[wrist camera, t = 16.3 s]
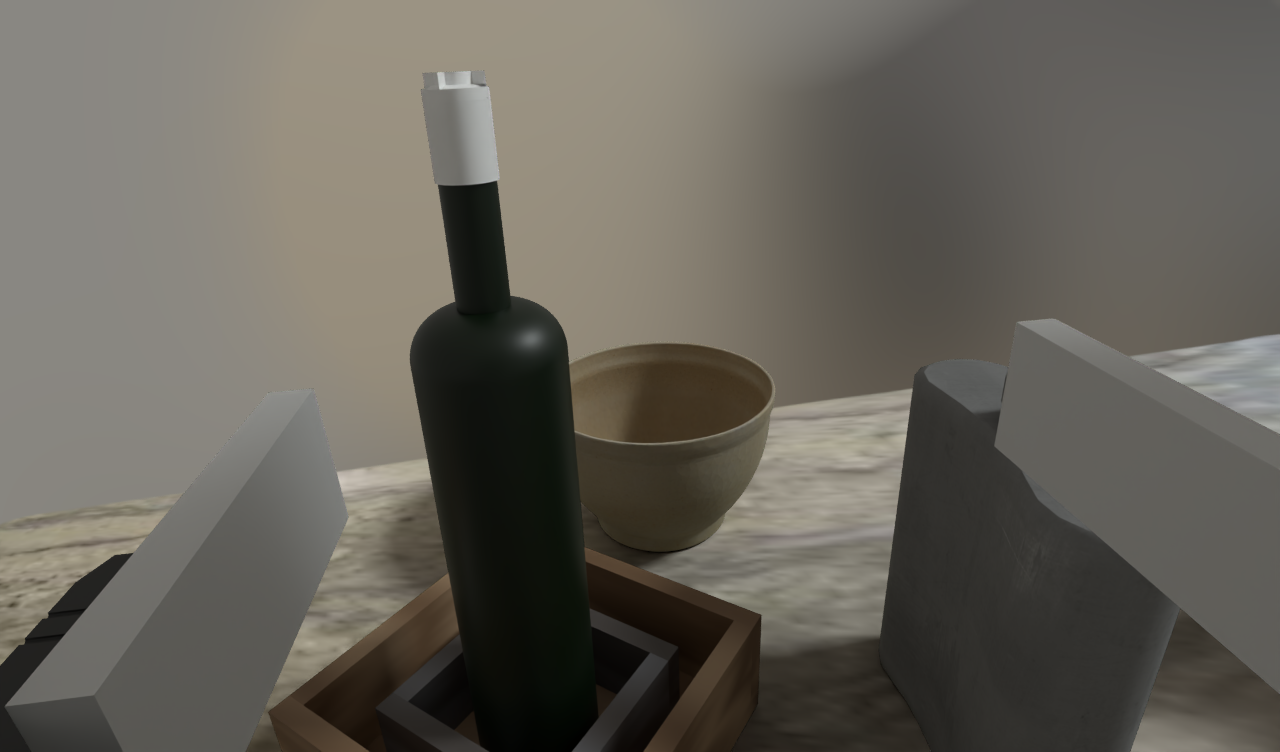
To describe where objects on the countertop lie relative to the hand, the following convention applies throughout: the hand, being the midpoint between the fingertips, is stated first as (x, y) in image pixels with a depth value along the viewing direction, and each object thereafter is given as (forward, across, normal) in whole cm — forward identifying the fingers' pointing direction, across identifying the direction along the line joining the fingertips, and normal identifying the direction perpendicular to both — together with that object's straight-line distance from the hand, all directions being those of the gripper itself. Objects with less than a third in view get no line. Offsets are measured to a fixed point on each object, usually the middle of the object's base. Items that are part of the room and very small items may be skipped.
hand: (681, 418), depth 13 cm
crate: (+13, -5, -25) cm, 29 cm away
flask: (+10, +16, -25) cm, 31 cm away
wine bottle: (+13, -5, -24) cm, 28 cm away
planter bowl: (+32, +3, -26) cm, 41 cm away
